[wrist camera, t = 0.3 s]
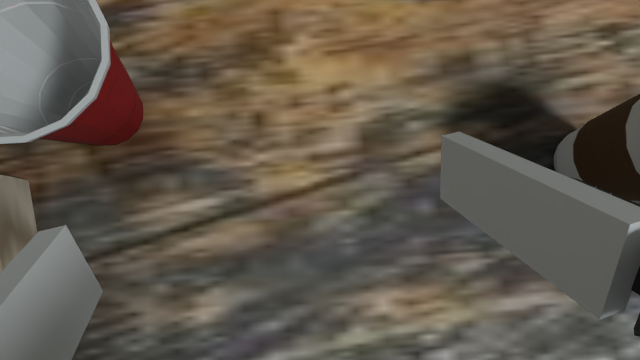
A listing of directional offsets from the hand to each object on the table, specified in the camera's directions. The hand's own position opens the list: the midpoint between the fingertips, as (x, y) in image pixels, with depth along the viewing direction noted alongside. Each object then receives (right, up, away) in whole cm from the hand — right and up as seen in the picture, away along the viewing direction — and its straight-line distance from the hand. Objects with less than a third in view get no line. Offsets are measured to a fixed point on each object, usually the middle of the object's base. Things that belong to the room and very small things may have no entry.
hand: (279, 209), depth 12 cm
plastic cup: (-17, +7, +17) cm, 25 cm away
